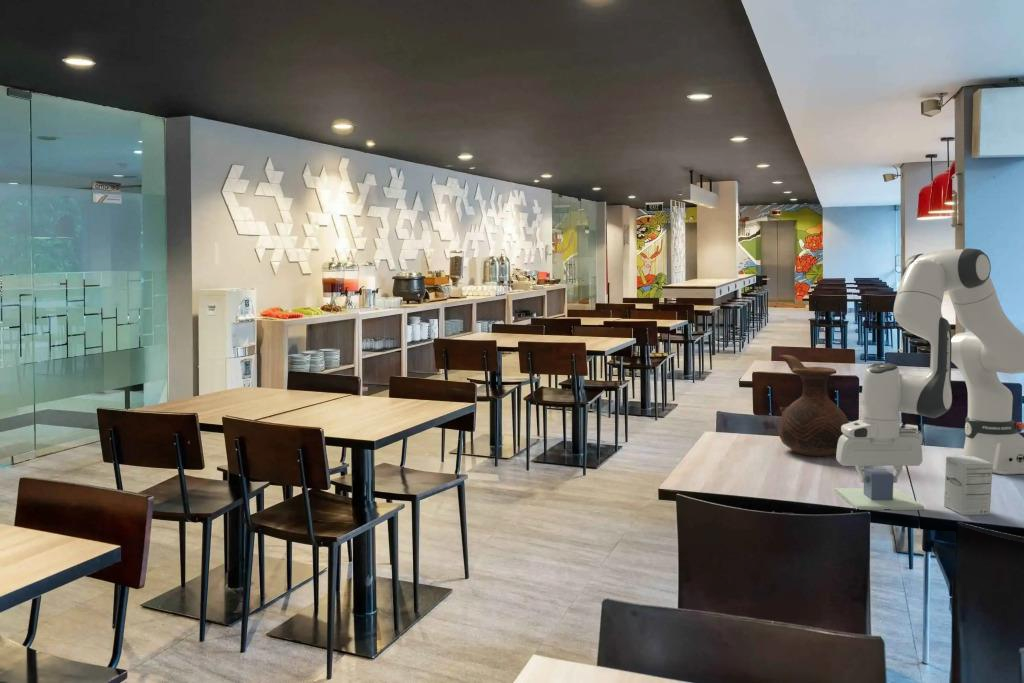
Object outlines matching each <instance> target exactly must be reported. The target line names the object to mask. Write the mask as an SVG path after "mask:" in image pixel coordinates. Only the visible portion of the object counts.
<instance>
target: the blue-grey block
mask: <svg viewBox="0 0 1024 683" xmlns="http://www.w3.org/2000/svg"><path fill="white" fill-rule="evenodd" d="M892 473H893V472H891V471H889V470H888V469H886V468H864V471H863V474H864V475H867V476H868V483H863V488H864V495H865V496H867V497H868V498H869V499H871V500H893V488H894V483H893V476H894V474H892Z"/></svg>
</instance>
